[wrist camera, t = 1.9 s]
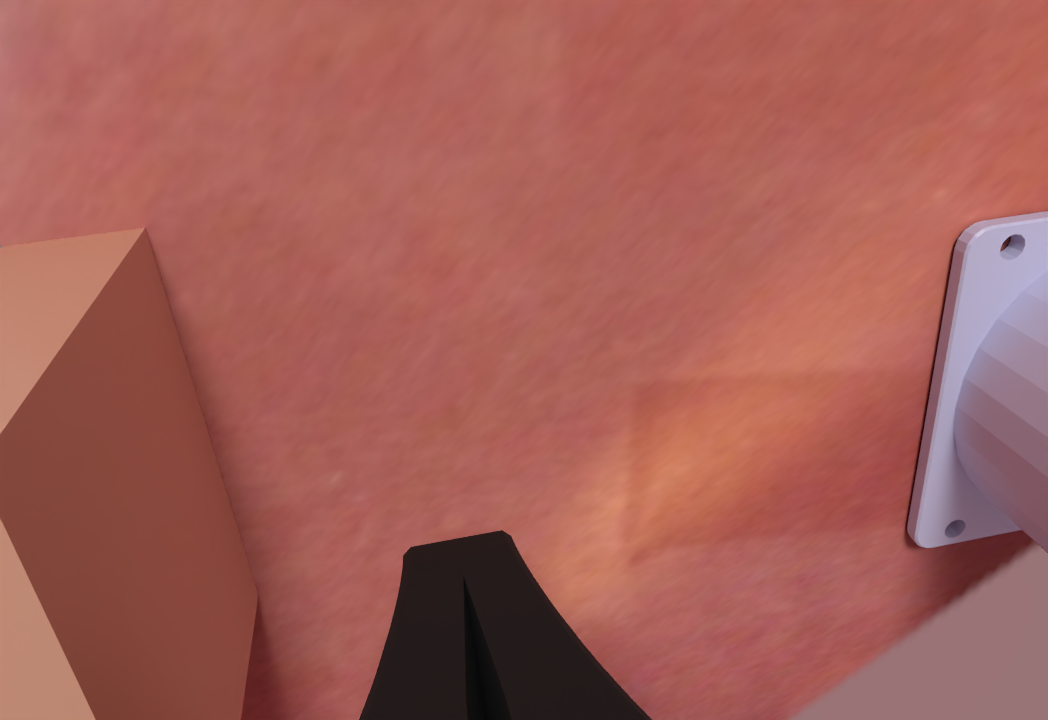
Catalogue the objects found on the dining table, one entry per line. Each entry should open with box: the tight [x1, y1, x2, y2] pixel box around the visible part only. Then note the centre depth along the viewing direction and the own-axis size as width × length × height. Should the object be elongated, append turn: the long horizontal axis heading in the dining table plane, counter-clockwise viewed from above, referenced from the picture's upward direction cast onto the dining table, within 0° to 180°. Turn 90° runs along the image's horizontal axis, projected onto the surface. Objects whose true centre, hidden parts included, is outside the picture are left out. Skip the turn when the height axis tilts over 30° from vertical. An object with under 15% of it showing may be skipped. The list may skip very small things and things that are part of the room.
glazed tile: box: [0, 228, 258, 720], centre depth 12 cm, size 2×8×7 cm, turn 5°
